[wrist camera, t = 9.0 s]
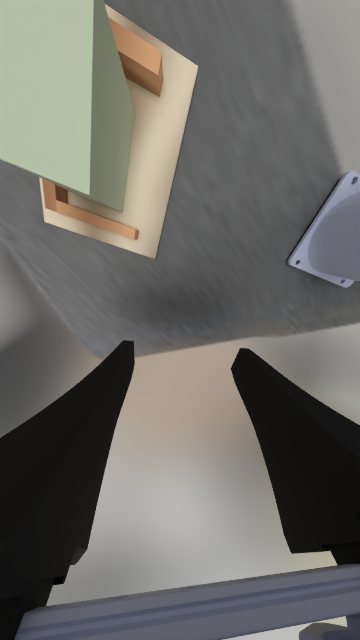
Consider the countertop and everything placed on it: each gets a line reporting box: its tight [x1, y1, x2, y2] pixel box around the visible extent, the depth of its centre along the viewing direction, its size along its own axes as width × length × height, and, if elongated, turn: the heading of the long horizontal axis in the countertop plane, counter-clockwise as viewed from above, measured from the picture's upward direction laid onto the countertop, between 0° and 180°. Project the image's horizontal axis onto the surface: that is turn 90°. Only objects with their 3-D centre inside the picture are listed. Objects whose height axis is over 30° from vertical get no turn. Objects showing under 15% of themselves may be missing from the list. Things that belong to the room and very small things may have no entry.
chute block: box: [0, 0, 135, 213], centre depth 8 cm, size 4×6×6 cm, turn 161°
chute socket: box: [39, 4, 198, 259], centre depth 10 cm, size 10×12×2 cm
